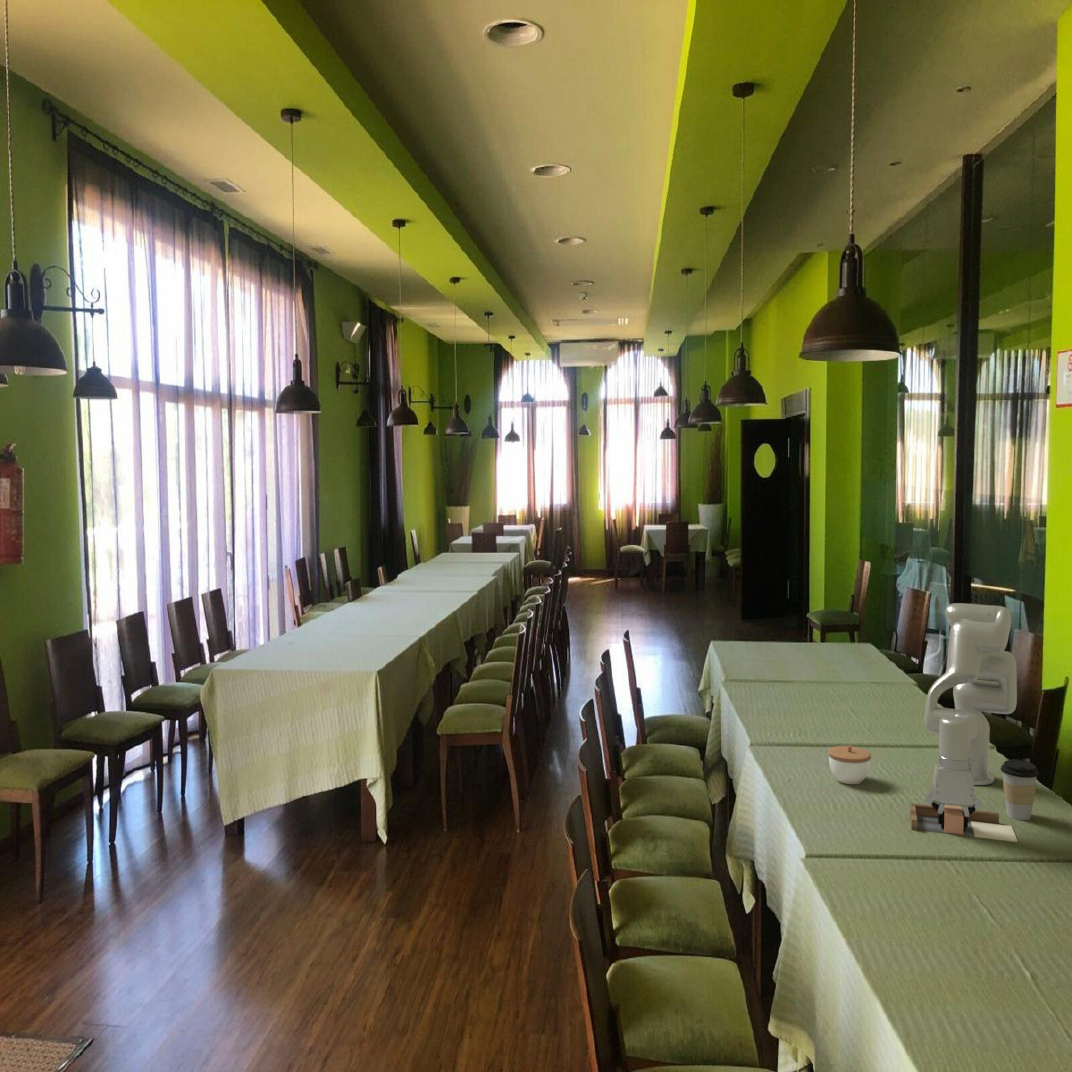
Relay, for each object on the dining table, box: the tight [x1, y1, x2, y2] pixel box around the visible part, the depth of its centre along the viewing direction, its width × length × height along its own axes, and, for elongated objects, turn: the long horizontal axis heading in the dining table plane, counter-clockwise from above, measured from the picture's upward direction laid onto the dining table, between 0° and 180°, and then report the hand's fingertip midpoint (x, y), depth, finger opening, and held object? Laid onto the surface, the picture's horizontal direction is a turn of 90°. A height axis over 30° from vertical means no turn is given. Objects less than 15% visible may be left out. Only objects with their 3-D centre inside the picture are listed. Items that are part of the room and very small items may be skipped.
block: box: [943, 804, 964, 836], centre depth 235 cm, size 7×4×5 cm, turn 159°
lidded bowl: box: [827, 745, 872, 785], centre depth 272 cm, size 13×13×11 cm
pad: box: [971, 821, 1018, 843], centre depth 232 cm, size 10×10×1 cm
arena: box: [909, 803, 1019, 843], centre depth 236 cm, size 12×26×3 cm, turn 69°
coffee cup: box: [1000, 759, 1040, 821], centre depth 242 cm, size 9×9×15 cm
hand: (952, 827), depth 235 cm, fingers closed on block, 4 cm apart
